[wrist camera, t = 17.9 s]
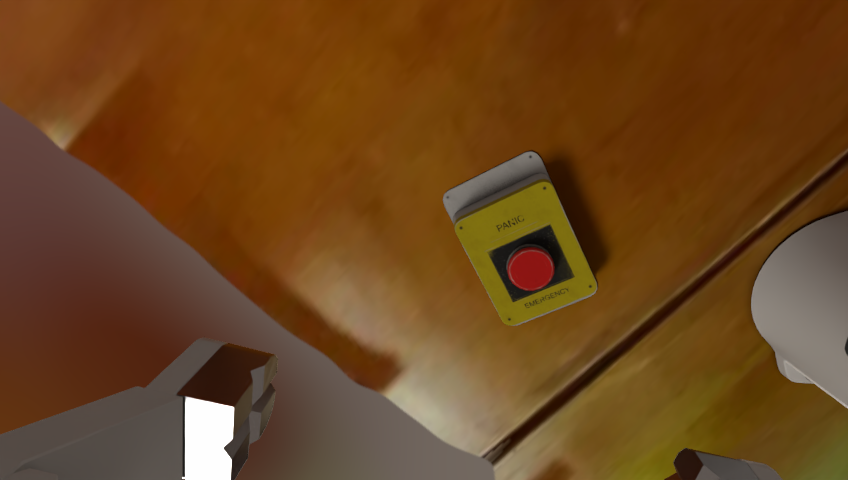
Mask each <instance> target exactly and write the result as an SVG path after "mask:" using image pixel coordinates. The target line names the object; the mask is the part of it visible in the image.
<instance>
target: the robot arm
mask: <svg viewBox="0 0 848 480" xmlns="http://www.w3.org/2000/svg"><path fill="white" fill-rule="evenodd" d="M751 309H752V316H753V319H754V322H755V325H756V327H757V329H758V330H759V332H760V334H761V335H762V336H763V337H764V339H765V340H766V341H767V342H768V343H769V344H770V345H771V346H772V348H773V349H774V351H775V354H776V360H777V365H778V368H779V371H780V372H781V374H782V375H784V376H785V377H787V378H788V379H789V380H791V381H793V382H797V383H814V384H815V385H817V386H818V387H819V388H821V389H822V390H824V391H825V392H826V393H828V394H829V395H830V396H832V397H833V398H834V399H836V400H837V401H838V402H840V403H841V404H842V405H844V406H845V407H847V408H848V211H845V212H842V213H839V214H835V215H832V216H829V217H826V218H824V219H821V220H819V221H816V222H814V223H812V224H810V225H808V226H806V227H804V228H803V229H801V230H799V231H798V232H796V233H795V234H793V235H792V236H791V237H789V238H788V239H787V240H786V241H784V242H783V243H782V244H781V245H780V246H779V247H778V248H777V249H776V250H775V251H774V252H773V253H772V254H771V256H770V257H769V258H768V260H767V261H766V262H765V264H764V265H763V267H762V269H761V270H760V272H759V274H758V276H757V279H756V281H755V284H754V287H753V292H752V298H751ZM277 362H278V358H277V357H276V355H274V354H270V353H266V352H262V351H258V350H254V349H250V348H246V347H242V346H238V345H234V344H230V343H225V342H221V341H217V340H213V339H209V338H201V339H198V340H196V341H195V342H194V343H193V344H192V345H191V346H190V347H189V348H188V349H187V350H185V352H183V353H182V354H181V355H180V356H179V357H178V358H177V359H176V360H175V361H174V362H173V363H171V364H170V365H169V366H168V367H167V368H166V369H165V370H164V371H163V372H162V373H161V374H160V375H159V376H158V377H156V378H155V379H154V380H153V381H152V382H151V383H150V384H149V385H148V386H147V387H146V388H141V387H134V388H131V389H128V390H126V391H123V392H120V393H117V394H114V395H111V396H109V397H106V398H103V399H100V400H97V401H95V402H92V403H89V404H86V405H83V406H81V407H77V408H75V409H72V410H69V411H66V412H63V413H60V414H58V415H55V416H52V417H50V418H46V419H43V420H41V421H38V422H35V423H32V424H30V425H26V426H24V427H21V428H18V429H15V430H12V431H10V432H7V433H4V434H1V435H0V480H183V479H188V480H235V478H236V477H237V475H238V473H239V472H240V470H241V468H242V467H243V465H244V463H245V462H246V460H247V458H248V450H249V444H251V443H252V442H254V441H256V440H258V439H259V438H260V436H261V435H262V433H263V431H264V429H265V428H266V425H267V423H268V420H269V417H270V415H271V412H272V408H273V404H274V398H275V389H274V388H273V386H272V384H271V383H270V382H271V381H272V379H273V378H274V376H275V375H276V373H277ZM673 463H674V466H675V469H676V472H677V473H675V474H673V475H671V476H670V477H668V478H666V479H664V480H782V479H781V477H780V476H779V475H778V474H777V472H776V471H775V470H773V469H772V468H770V467H769V466H767V465H766V464H762V463H757V462H752V461H747V460H742V459H734V458H729V457H725V456H720V455H715V454H711V453H706V452H702V451H697V450H693V449H688V448H685V449H683V450H682V451H680V452H679V453H678V455H677V457H676V458H675V460H674V462H673Z"/></svg>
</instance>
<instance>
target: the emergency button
mask: <svg viewBox="0 0 848 480" xmlns="http://www.w3.org/2000/svg"><path fill="white" fill-rule="evenodd" d="M443 203H444V206H445V208H446V210H447V212H448V214H449V216H450V218H451V220H452V222H453V223H454V229H455V232H456V234H457V236H458V238H459V240H460V242H461V244H462V246H463V248H464V249H465V251H466V253H467V255H468V257H469V259H470V261H471V263H472V265H473V267H474V268H475V270H476V272H477V274H478V276H479V278H480V280H481V282H482V284H483V285H484V287H485V289H486V291H487V293H488V295H489V297H490V299H491V301H492V303H493V304H494V306H495V308H496V310H497V312H498V314H499V316H500V318H501V320H502V321H503V322H504V323H505V324H506V325H509V326H515V325H519V324H522V323H525V322H527V321H530V320H532V319H535V318H537V317H540V316H542V315H545V314H547V313H550V312H552V311H555V310H557V309H560V308H563V307H565V306H568V305H570V304H573V303H575V302H578V301H580V300H583V299H585V298H588V297H590V296H592V295H593V294H595V293H596V290H597V282H596V280H595V278H594V276H593V273H592V271H591V269H590V267H589V264H588V262H587V260H586V258H585V255H584V253H583V251H582V249H581V247H580V244H579V242H578V240H577V238H576V235H575V233H574V231H573V229H572V226H571V224H570V222H569V220H568V217H567V215H566V213H565V211H564V209H563V206H562V204H561V202H560V200H559V197H558V195H557V193H556V191H555V188H554V186H553V184H552V182H551V180H550V177H549V175H548V173H547V171H546V168H545V166H544V164H543V162H542V159H541V158H540V157H539V155H538V154H537V153H534V152H532V151H530V152H525V153H523V154H521V155H519V156H517V157H515V158H513V159H511V160H509V161H507V162H505V163H503V164H501V165H499V166H497V167H494V168H492V169H490V170H488V171H486V172H484V173H482V174H480V175H478V176H476V177H474V178H472V179H470V180H468V181H466V182H464V183H462V184H460V185H458V186H456V187H454V188H452V189H450V190H448V191H447V192H446V193H445V194H444V197H443Z"/></svg>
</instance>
